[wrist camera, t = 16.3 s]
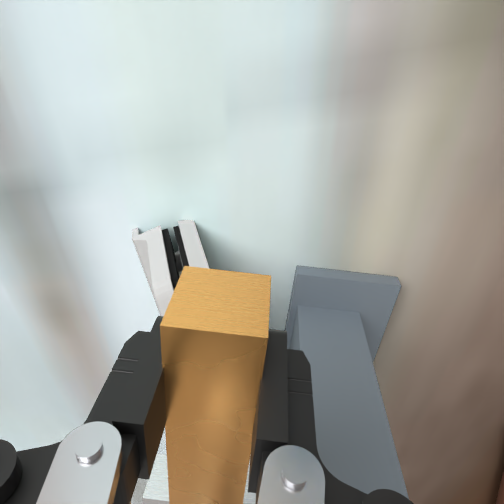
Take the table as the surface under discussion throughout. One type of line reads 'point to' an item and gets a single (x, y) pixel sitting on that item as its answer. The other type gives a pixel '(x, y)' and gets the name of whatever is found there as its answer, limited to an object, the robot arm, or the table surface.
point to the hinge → (168, 258)
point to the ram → (210, 386)
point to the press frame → (347, 371)
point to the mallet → (501, 492)
